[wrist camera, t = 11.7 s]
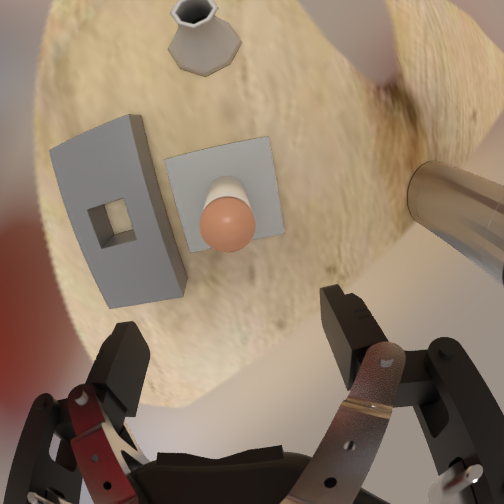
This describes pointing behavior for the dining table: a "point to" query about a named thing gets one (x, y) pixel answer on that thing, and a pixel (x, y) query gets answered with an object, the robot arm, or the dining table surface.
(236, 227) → the plug
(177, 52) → the flask
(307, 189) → the dining table surface
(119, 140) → the grey socket block
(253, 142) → the mat
